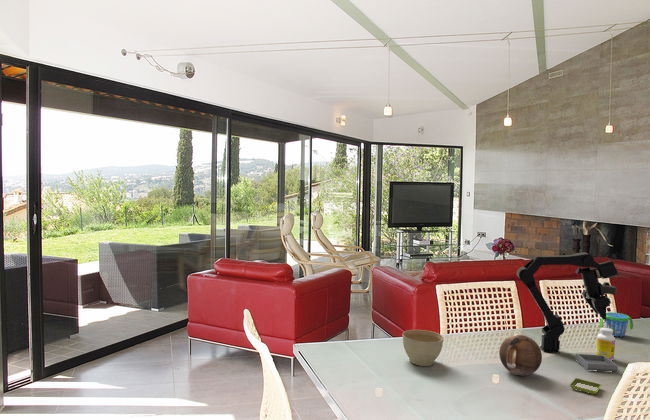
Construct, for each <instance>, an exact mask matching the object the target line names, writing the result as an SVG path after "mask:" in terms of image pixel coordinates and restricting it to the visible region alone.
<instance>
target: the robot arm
mask: <svg viewBox="0 0 650 420" xmlns="http://www.w3.org/2000/svg"><path fill="white" fill-rule="evenodd" d="M561 265H564V266H565V265H566V266H567V265H570V266H576V267H577V269H575V273H576V274H577V275H580V274H581V278H582V281H583V283H582V284H583V288H585V290H583V291H582V292H581V295H582V298H583V299H584V300H585V301H586V303H587V304H588V305H589V307H590V308H591V309H592V310H593V311H594V313H595V314H596V315H599V316H600V318H602V319H603V321H604V320H605V321H606V313H607V308H608V307H609V306H610V305H611V304H612V301H611V299H610V298H609V297H608V296H606V295H612V296H616V294H617V287H616V286H615V285H610V282H607V281H604V282H603V284H602V283H601V282H600V281H599V278H601V279H602V280H605V279H609V278H613V277H617V276H618V275H619V274H618V269H617V268H616V266H615V264H614V262H613V260H607V261H604V262H597V261H596V260H595V259H594V257H593V255H591V254H589V253H587V252H583V251H582V252H577V253H572V254H568V255H567V254H566V255H565V254H564V255H534V256H533V258H532V259H531V260H529V261H528V262H526V264H524V266H520V267H519V268H518V269H517V270H516V276H517V277H518V278H519V280H520V281H521V282H522V283H523V284H524V286H525V287H526V288H527V290H528V291H529V293H530V294H531V296H532V297H533V300H534V301H535V303H536V305H537V306H538V308H539V310H540V311H541V313H542V314H543V318H544V320H545V324H546V325H544V326H543V327H542V328H541V332H542V334H541V343H540V346H539V348H540V350H541V351H543V352H545V353H553V352H559V353H558V354H560V353H561V351H560V348H561V347H560V346H561V342H560V337H561V336H562V335H563V334H564V333H565V330H566V328H565V323H564V322H563V321H562V319H561V317H560V315H558V313H555V314H554V313H553V312H552V310H551V308H550V306H549V304H548V303H547V301H546V299H545V298H544V296H543V294H542V293H541V291H540V289H539V288H538V286H537V283H536V280H535V276H534V275H535V274H536V273H537V272H538V270H539V269H540V268H541V267H542V266H561ZM581 267H582V268H581ZM590 267H591V268H590Z"/></svg>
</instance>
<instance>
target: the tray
mask: <svg viewBox="0 0 650 420" xmlns="http://www.w3.org/2000/svg"><path fill="white" fill-rule="evenodd" d="M575 360H577V361H578V362H579V363H580V364H581V365H583V366H584V367H585V368H586V369H587V370H597V371H612V372H617V373H618V371H619V370H618V368H619V365H618V364H617V363H615V361H614V360H613V361H611V360H610V359H608V358H607V357H606V356H604V355H596V354H589V353H575ZM578 362H577V363H578ZM579 363H578V364H579ZM580 364H579V365H580ZM581 365H580V366H581ZM585 368H584V369H585ZM586 369H585V370H586ZM587 370H586V371H587Z"/></svg>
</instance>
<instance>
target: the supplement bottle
mask: <svg viewBox="0 0 650 420" xmlns="http://www.w3.org/2000/svg"><path fill="white" fill-rule="evenodd" d="M599 329H600V330H599V331H600V333H597V336H596V348H595V349H596V350H595V355H604V356H606V357H607V358H608V359H610V360H611V361H612V360H613V361H614V360H615V351H616V349H615V348H616V337H614V336H613V335H612V334H613V330H612V329H609V328H606V327H603V328H600V327H599Z"/></svg>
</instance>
